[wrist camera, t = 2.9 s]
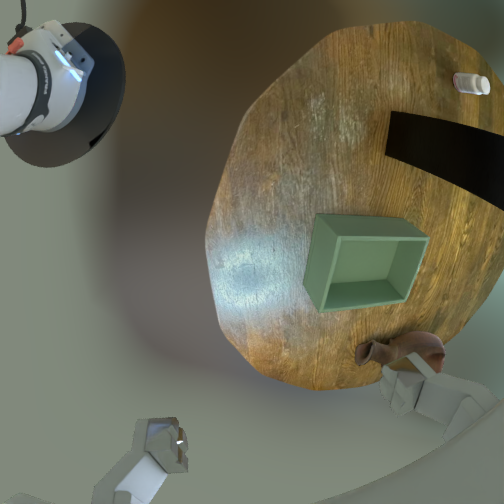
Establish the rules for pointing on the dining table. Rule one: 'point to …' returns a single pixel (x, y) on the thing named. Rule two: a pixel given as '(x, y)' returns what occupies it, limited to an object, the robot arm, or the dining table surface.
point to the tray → (362, 261)
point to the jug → (404, 350)
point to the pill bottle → (471, 83)
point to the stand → (450, 153)
